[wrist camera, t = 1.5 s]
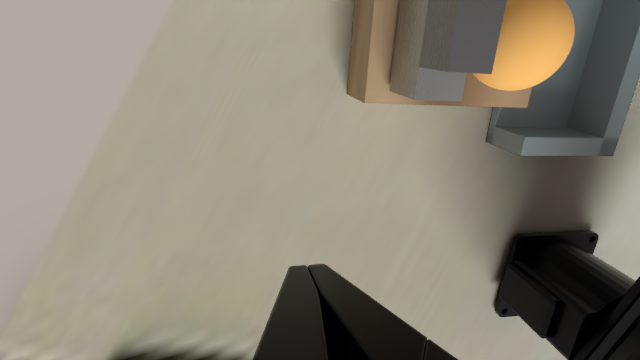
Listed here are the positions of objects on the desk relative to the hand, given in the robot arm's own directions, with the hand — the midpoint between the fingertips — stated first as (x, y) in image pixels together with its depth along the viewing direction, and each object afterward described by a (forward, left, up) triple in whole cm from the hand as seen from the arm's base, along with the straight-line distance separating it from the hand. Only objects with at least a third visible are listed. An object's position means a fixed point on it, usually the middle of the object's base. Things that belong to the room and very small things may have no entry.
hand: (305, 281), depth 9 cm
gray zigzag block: (-6, -6, -9) cm, 12 cm away
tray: (-16, -6, -12) cm, 21 cm away
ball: (-10, -6, -7) cm, 13 cm away
